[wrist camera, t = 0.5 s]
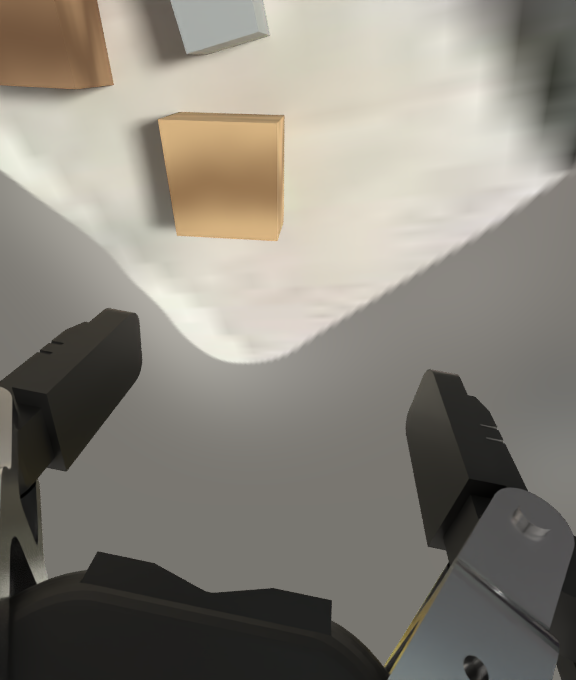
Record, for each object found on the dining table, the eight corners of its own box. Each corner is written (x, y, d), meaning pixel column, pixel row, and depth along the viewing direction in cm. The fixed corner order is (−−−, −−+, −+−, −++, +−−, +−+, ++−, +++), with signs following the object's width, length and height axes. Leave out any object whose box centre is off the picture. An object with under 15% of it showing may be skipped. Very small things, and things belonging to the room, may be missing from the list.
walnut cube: (22, -12, 22) (-39, -25, 19) (95, -9, 22) (48, -22, 18) (48, 81, 25) (-1, 85, 21) (114, 84, 25) (75, 88, 21)
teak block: (180, 111, 25) (157, 119, 22) (284, 114, 25) (277, 123, 22) (194, 216, 30) (177, 235, 26) (283, 220, 29) (277, 241, 26)
